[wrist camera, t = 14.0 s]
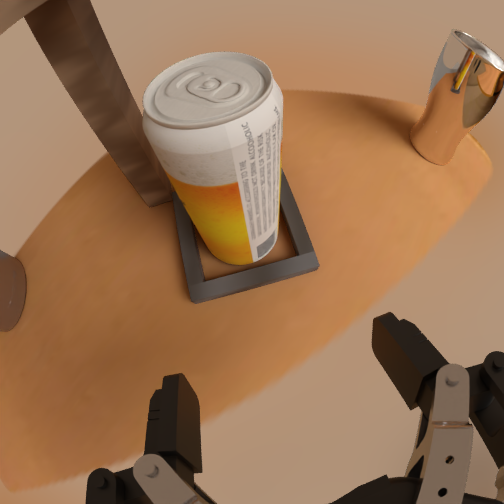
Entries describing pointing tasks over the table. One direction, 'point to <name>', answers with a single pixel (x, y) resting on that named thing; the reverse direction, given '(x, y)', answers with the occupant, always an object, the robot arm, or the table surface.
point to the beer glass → (457, 96)
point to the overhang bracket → (138, 135)
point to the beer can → (221, 148)
